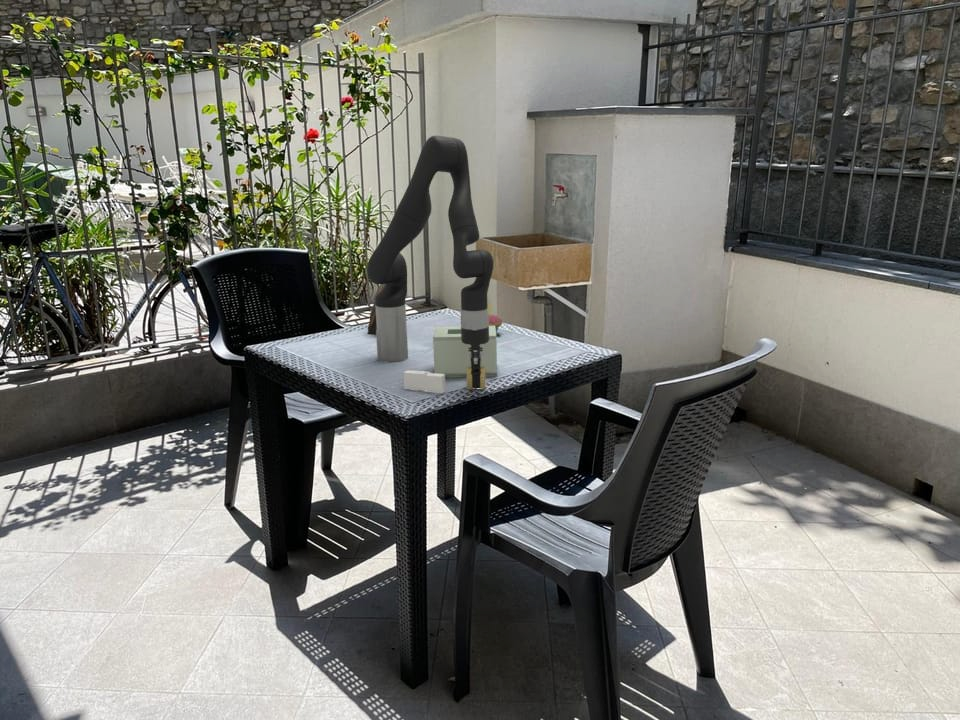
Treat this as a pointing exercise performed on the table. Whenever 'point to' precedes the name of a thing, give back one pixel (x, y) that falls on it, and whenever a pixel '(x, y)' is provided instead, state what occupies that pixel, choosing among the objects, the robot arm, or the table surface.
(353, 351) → the table surface
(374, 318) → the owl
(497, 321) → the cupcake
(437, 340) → the box
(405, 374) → the napkin holder
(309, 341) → the table surface
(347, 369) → the table surface
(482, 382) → the tan brushed block
